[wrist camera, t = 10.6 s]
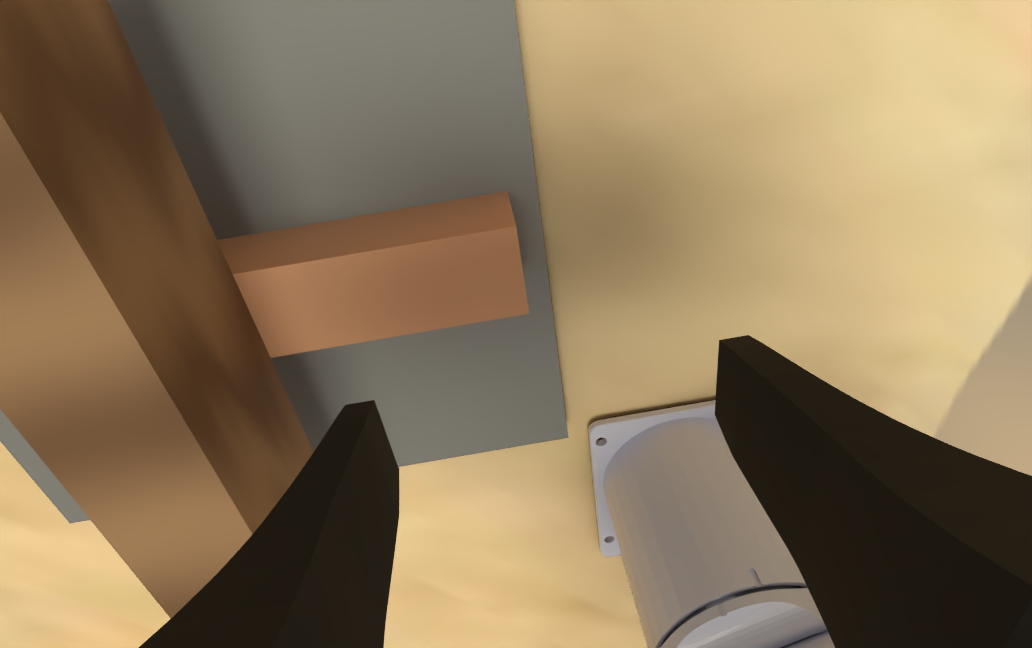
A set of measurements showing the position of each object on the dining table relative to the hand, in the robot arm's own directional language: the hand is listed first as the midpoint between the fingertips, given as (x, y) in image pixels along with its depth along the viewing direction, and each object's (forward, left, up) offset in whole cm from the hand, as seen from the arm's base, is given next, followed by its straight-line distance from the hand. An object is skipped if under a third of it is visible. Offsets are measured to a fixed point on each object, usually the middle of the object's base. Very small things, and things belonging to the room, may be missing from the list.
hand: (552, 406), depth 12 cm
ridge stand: (0, +10, -10) cm, 14 cm away
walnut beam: (0, +10, -6) cm, 12 cm away
